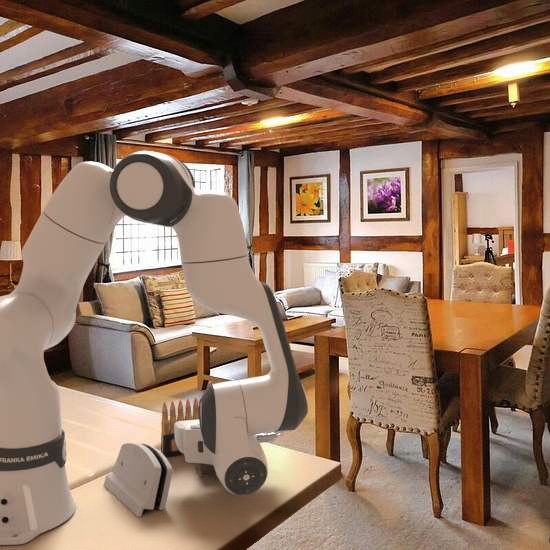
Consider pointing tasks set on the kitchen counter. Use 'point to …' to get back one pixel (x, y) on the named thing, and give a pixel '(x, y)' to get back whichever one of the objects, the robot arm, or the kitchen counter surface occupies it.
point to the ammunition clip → (167, 425)
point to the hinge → (140, 477)
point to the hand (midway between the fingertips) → (221, 417)
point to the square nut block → (206, 469)
